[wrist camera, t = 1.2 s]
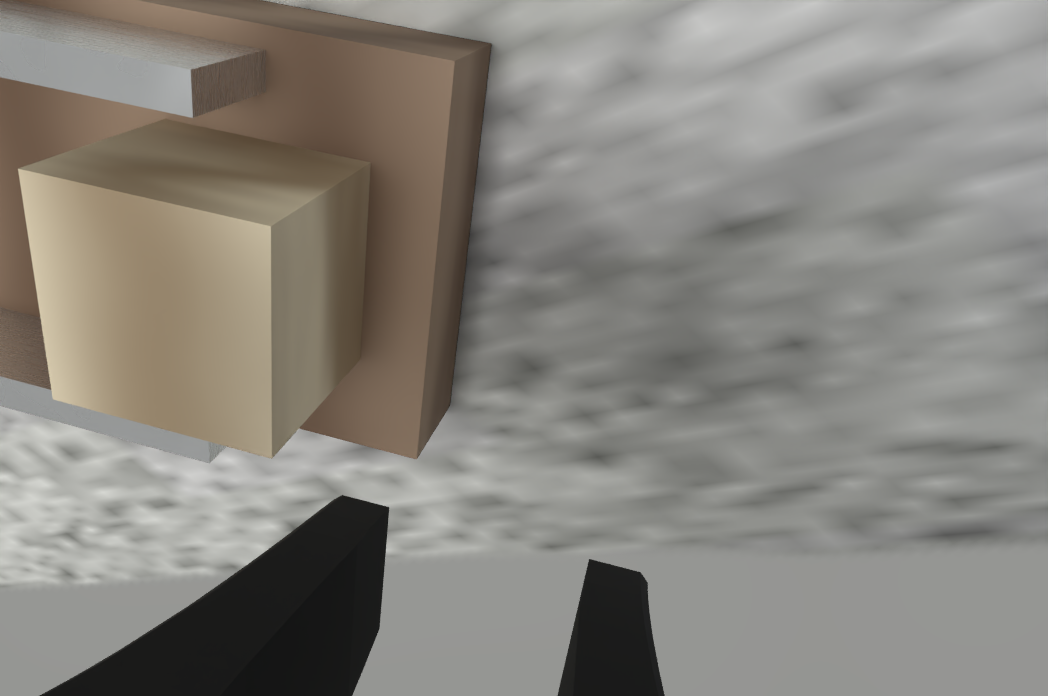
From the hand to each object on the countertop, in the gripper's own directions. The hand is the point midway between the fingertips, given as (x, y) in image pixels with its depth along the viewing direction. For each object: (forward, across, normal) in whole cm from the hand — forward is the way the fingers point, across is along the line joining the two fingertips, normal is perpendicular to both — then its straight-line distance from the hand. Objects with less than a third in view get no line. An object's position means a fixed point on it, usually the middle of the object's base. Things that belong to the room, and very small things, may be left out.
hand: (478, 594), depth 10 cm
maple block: (+8, +7, 0) cm, 11 cm away
